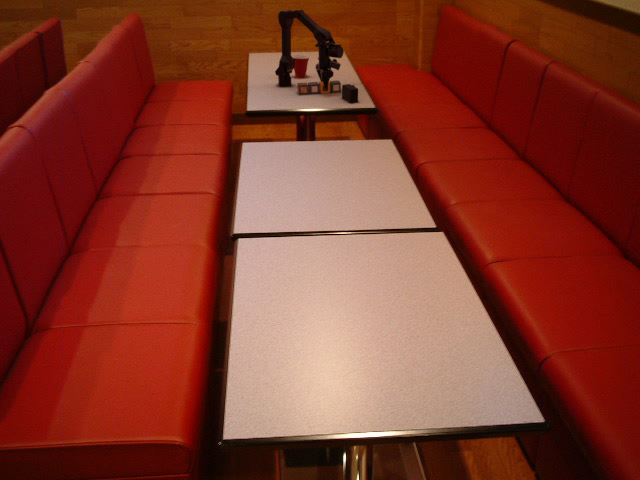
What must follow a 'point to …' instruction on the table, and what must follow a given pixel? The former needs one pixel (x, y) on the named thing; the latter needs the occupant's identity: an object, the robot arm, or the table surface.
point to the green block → (335, 86)
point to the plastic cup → (300, 65)
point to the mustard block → (323, 89)
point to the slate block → (313, 87)
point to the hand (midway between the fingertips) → (324, 86)
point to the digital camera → (350, 93)
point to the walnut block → (302, 88)
